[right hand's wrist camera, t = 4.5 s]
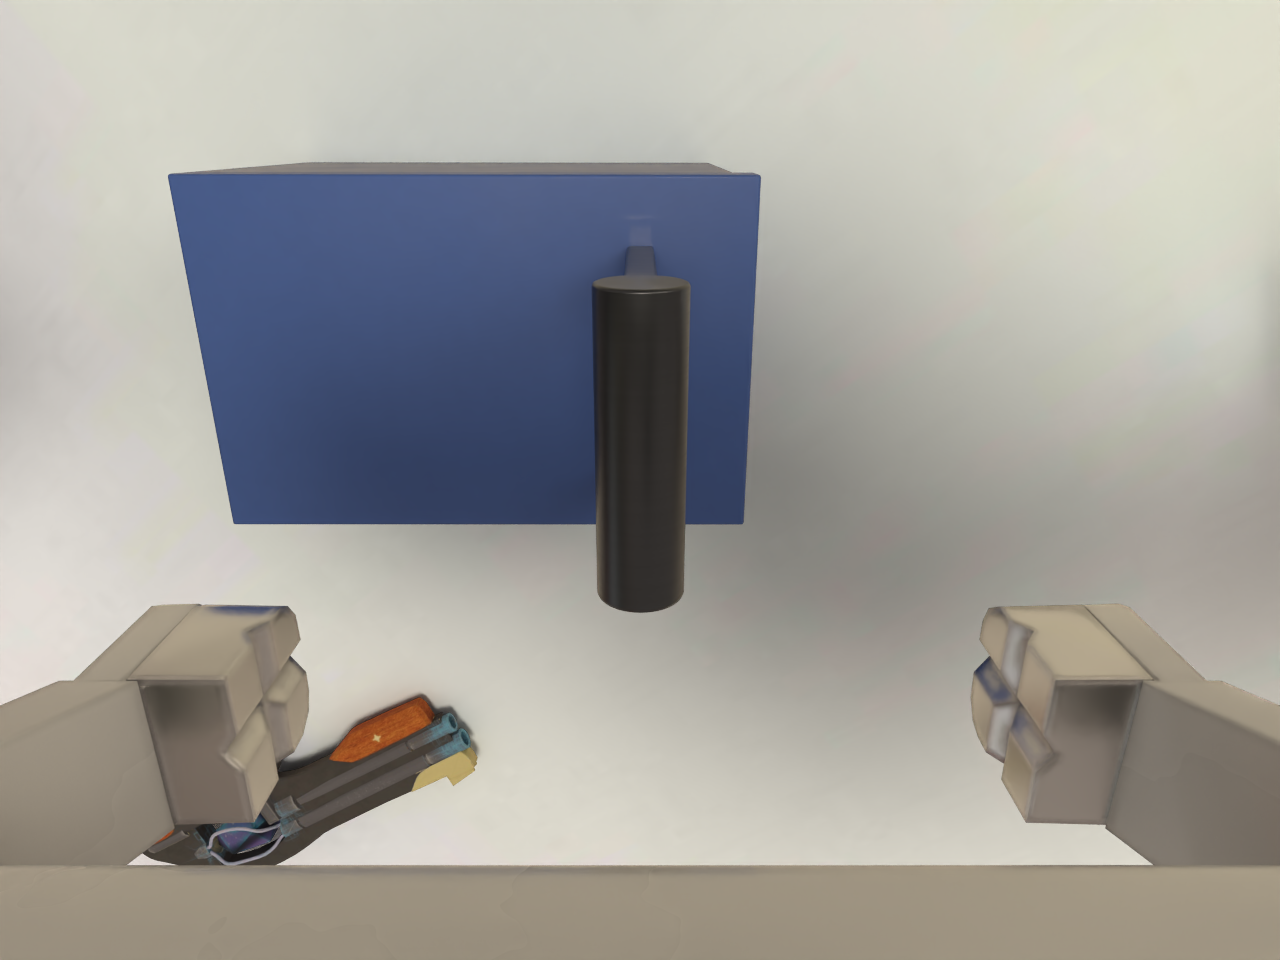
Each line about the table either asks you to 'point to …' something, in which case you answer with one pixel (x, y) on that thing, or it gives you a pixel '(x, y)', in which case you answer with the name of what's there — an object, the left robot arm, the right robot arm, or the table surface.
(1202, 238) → the table surface
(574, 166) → the chest
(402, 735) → the toy gun
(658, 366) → the lid
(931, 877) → the right robot arm
